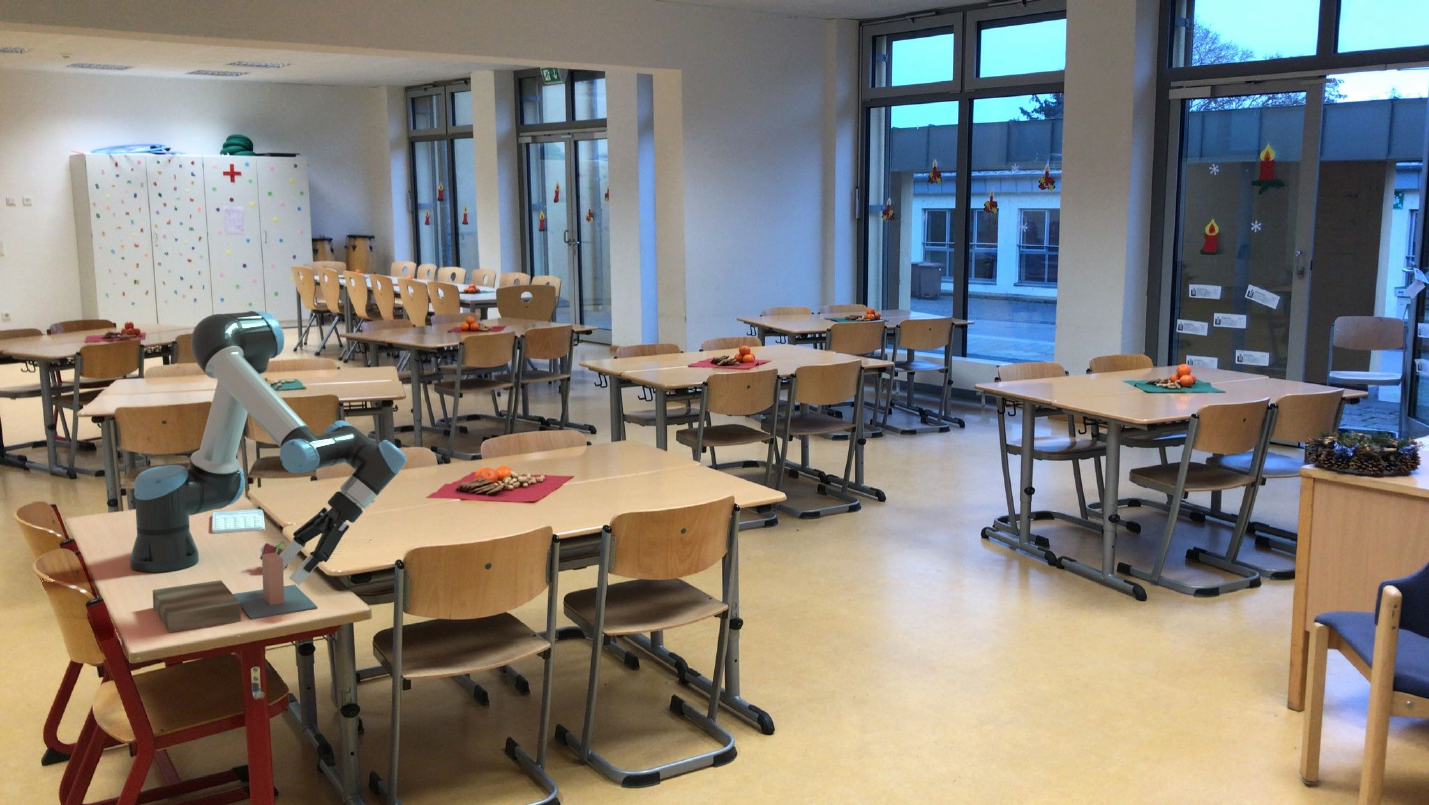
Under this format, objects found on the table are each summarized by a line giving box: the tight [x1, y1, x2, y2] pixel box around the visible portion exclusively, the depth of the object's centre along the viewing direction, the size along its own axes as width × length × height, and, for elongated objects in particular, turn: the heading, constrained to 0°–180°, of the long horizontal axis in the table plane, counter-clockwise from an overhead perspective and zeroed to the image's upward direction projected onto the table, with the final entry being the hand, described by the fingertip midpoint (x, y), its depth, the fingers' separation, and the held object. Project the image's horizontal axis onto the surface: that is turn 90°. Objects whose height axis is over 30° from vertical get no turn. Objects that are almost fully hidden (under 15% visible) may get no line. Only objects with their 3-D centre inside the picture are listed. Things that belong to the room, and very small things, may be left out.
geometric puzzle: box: [259, 540, 289, 569], centre depth 284 cm, size 7×7×8 cm
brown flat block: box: [152, 579, 242, 633], centre depth 250 cm, size 18×14×4 cm
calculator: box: [211, 508, 266, 534], centre depth 324 cm, size 13×20×2 cm, turn 23°
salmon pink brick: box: [261, 553, 285, 605], centre depth 259 cm, size 6×3×10 cm, turn 34°
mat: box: [232, 584, 318, 620], centre depth 260 cm, size 18×14×1 cm
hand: (285, 573), depth 260 cm, fingers open, 13 cm apart
